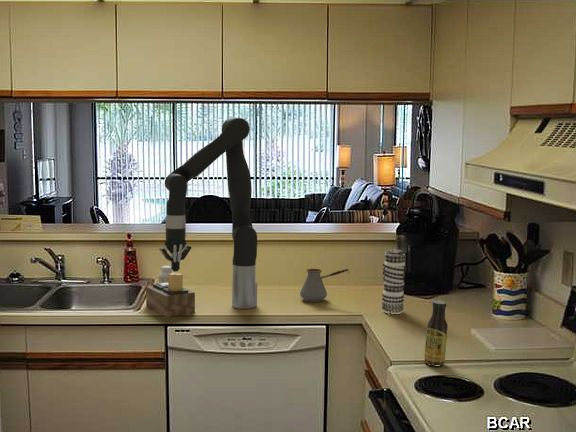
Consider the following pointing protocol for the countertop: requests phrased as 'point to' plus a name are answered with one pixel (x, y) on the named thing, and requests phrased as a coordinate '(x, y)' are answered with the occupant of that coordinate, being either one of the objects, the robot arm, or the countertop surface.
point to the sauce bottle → (436, 335)
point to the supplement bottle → (164, 274)
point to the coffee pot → (315, 285)
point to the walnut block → (170, 300)
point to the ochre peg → (175, 282)
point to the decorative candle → (393, 281)
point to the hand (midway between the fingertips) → (175, 271)
